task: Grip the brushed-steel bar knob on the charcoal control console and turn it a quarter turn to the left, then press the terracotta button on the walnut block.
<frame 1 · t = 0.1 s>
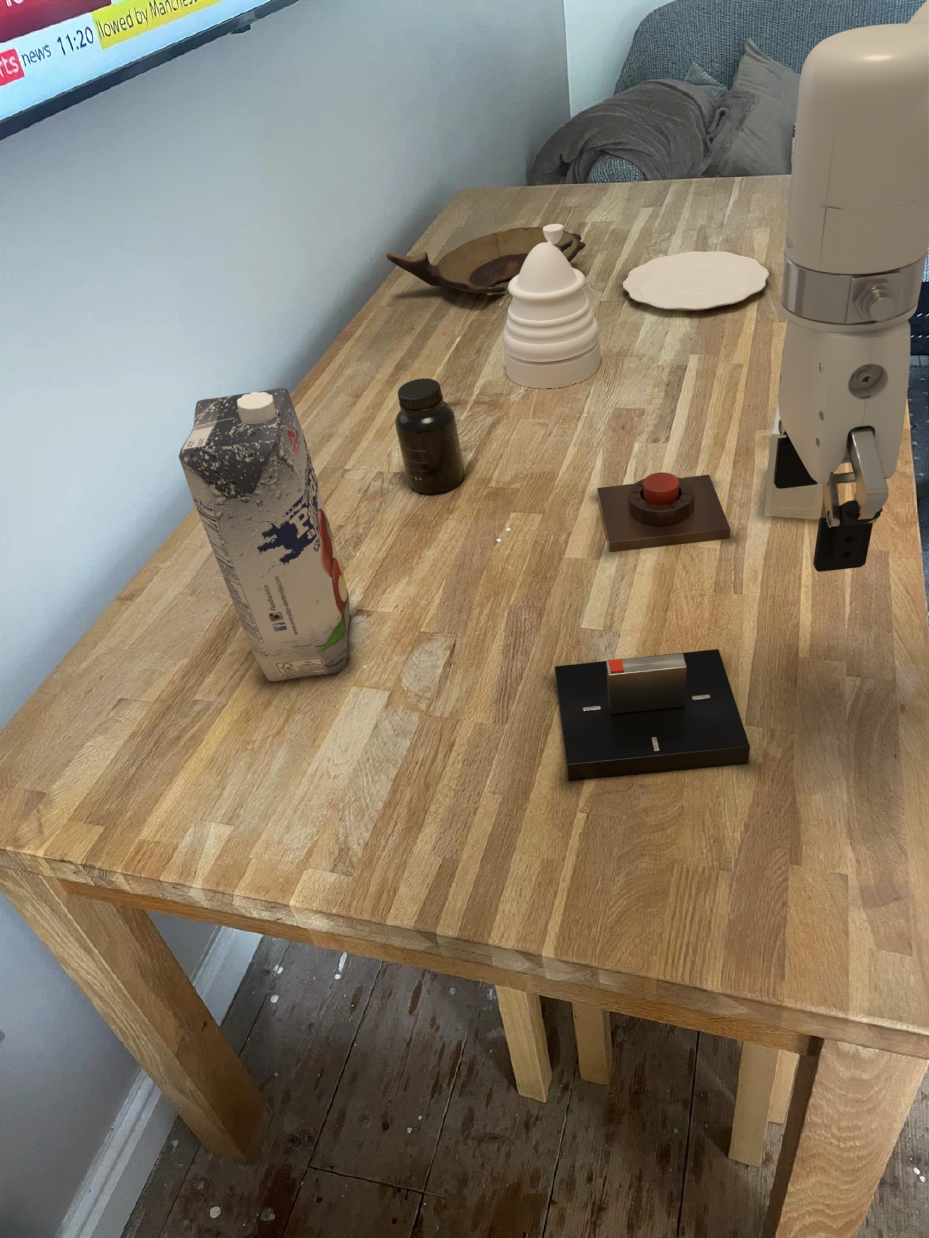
hand: (816, 523, 65), 19 cm above the table, tool pointing down, fingers open, 9 cm apart
button: (661, 489, 96), point 4 cm above the table, slide at 0.1 cm
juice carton: (312, 653, 91), on the table
beverage can: (818, 424, 109), on the table
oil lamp: (493, 284, 153), on the table
console: (646, 728, 78), on the table
honey pot: (553, 367, 129), on the table
small box: (793, 504, 99), on the table
button block: (660, 524, 99), on the table
knob: (646, 683, 75), point 5 cm above the table, hinge at 0.0°
plate: (694, 290, 141), on the table
supplement bottle: (436, 481, 111), on the table
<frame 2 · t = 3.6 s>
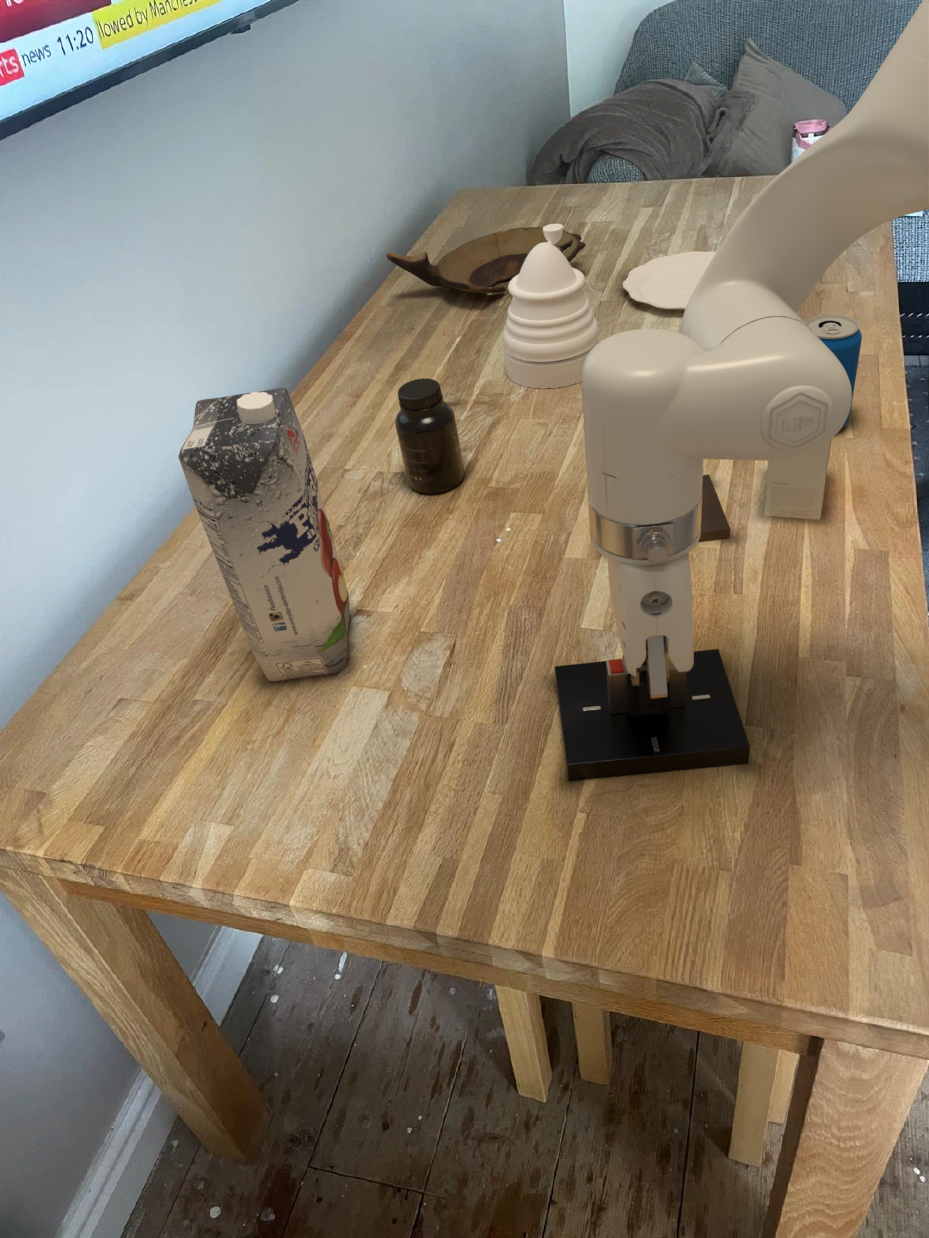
hand: (646, 700, 76), 3 cm above the table, tool pointing down, fingers closed on knob
knob: (646, 683, 75), point 5 cm above the table, hinge at 0.0°, touching gripper
everything else where it was.
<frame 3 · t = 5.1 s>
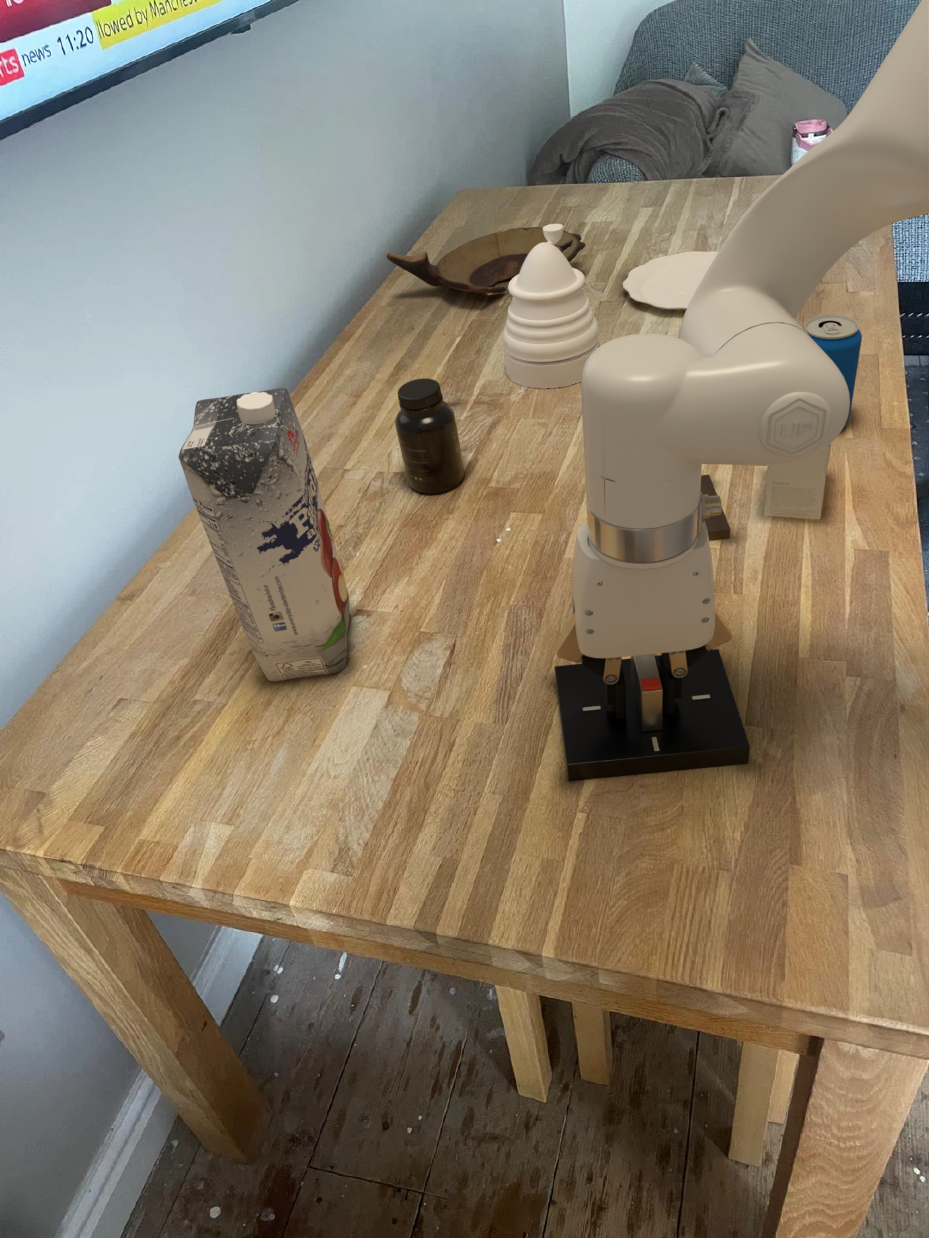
hand: (642, 702, 76), 3 cm above the table, tool pointing down, fingers open, 3 cm apart
knob: (646, 683, 75), point 5 cm above the table, hinge at 89.9°
everything else where it was.
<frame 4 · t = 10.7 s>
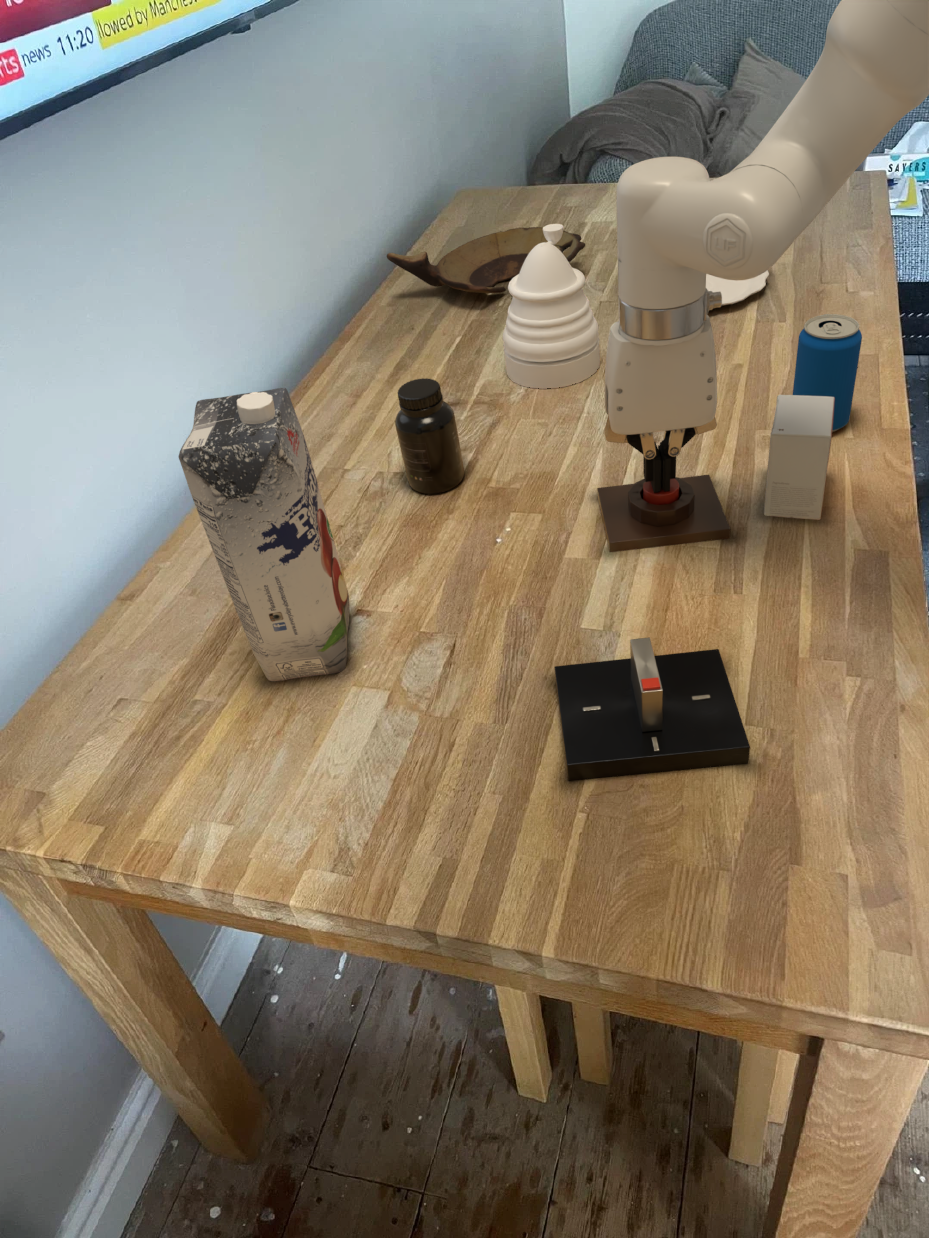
hand: (659, 484, 96), 5 cm above the table, tool pointing down, fingers closed
button: (661, 492, 96), point 4 cm above the table, slide at -0.3 cm, touching gripper
everything else where it was.
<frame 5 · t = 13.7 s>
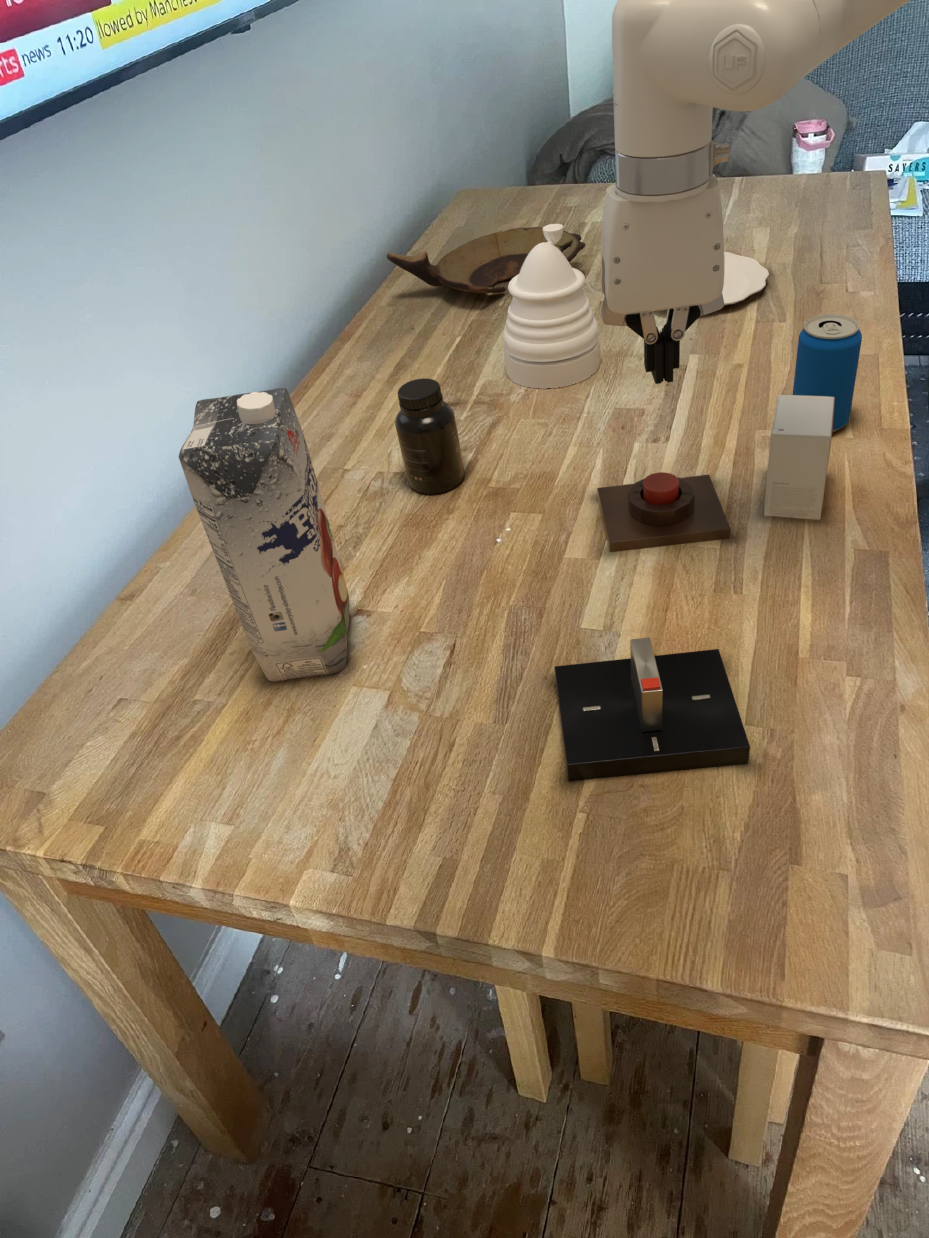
hand: (661, 376, 88), 17 cm above the table, tool pointing down, fingers closed
button: (661, 489, 96), point 4 cm above the table, slide at 0.1 cm
everything else where it was.
at the end: knob at +90° (first picture: +0°); button pushed in 1.1 cm at the most during the clip, back to where it started at the end; button slide at 0.1 cm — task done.
